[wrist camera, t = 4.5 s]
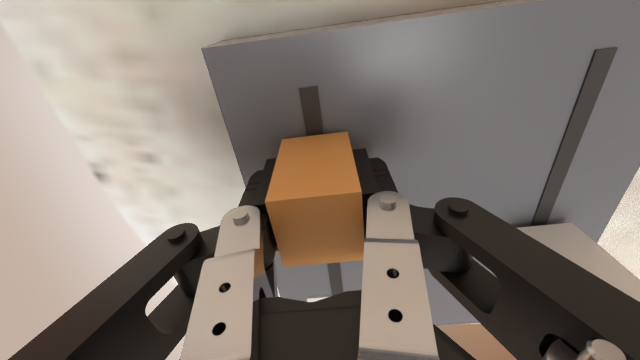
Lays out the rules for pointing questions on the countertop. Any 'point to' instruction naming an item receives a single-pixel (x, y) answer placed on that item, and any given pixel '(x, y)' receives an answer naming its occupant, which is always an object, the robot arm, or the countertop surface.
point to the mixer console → (451, 113)
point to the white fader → (585, 254)
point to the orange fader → (316, 201)
